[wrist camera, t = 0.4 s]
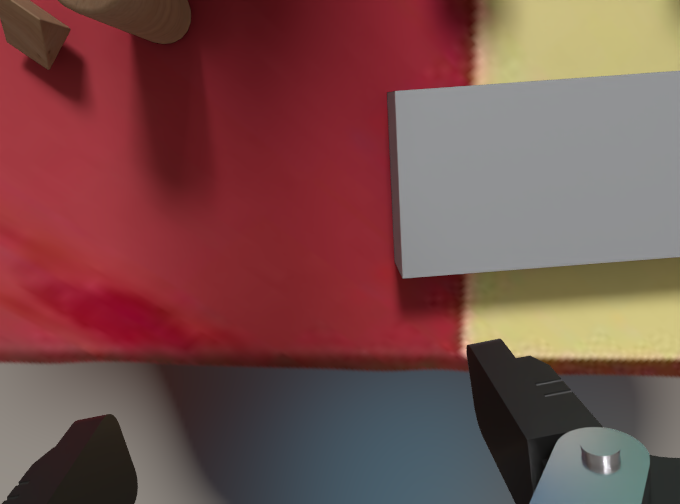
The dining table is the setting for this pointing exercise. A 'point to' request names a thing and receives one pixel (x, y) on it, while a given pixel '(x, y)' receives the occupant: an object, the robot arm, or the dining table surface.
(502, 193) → the dock
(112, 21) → the wooden block set
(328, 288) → the dining table surface
